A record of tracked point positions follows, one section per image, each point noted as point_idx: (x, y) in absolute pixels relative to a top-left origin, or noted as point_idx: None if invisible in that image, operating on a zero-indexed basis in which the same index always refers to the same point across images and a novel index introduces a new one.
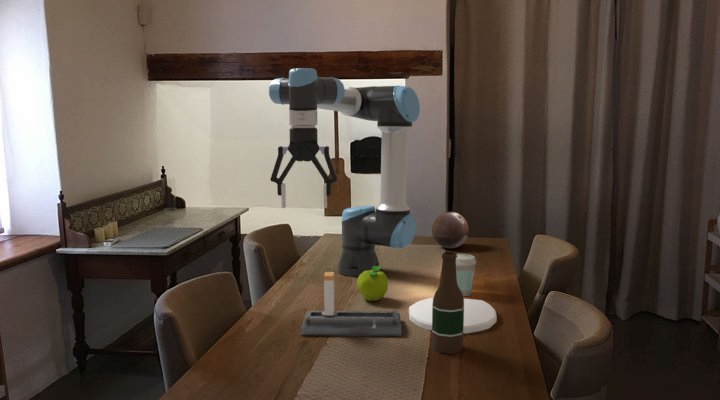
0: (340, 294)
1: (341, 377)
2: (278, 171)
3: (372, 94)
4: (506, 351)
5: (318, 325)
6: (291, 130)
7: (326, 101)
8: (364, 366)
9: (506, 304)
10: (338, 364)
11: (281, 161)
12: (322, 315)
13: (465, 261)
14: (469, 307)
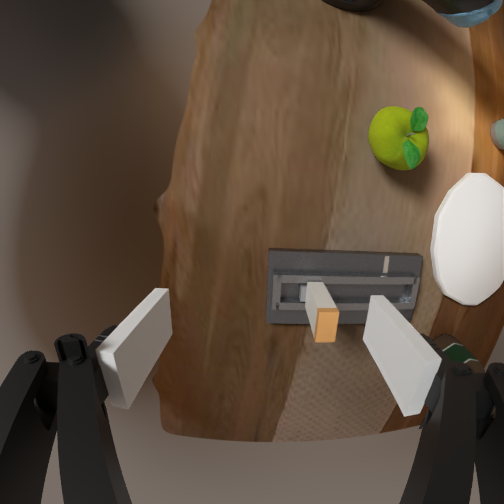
0: (326, 103)
1: (315, 419)
2: (24, 401)
3: None
4: (481, 347)
5: (293, 314)
6: None
7: None
8: (343, 399)
9: None
10: (315, 397)
11: (7, 486)
12: (301, 301)
13: None
14: (500, 259)
